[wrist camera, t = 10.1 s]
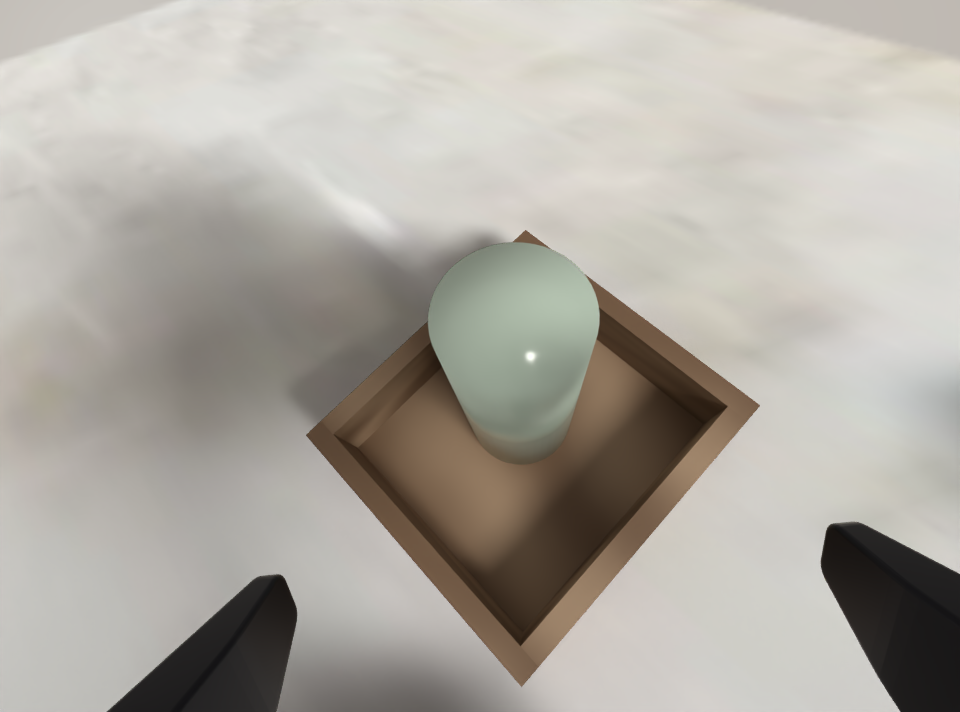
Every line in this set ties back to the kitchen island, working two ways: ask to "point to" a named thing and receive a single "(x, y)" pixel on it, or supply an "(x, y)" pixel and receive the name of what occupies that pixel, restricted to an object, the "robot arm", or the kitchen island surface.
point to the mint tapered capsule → (515, 345)
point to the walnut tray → (533, 477)
